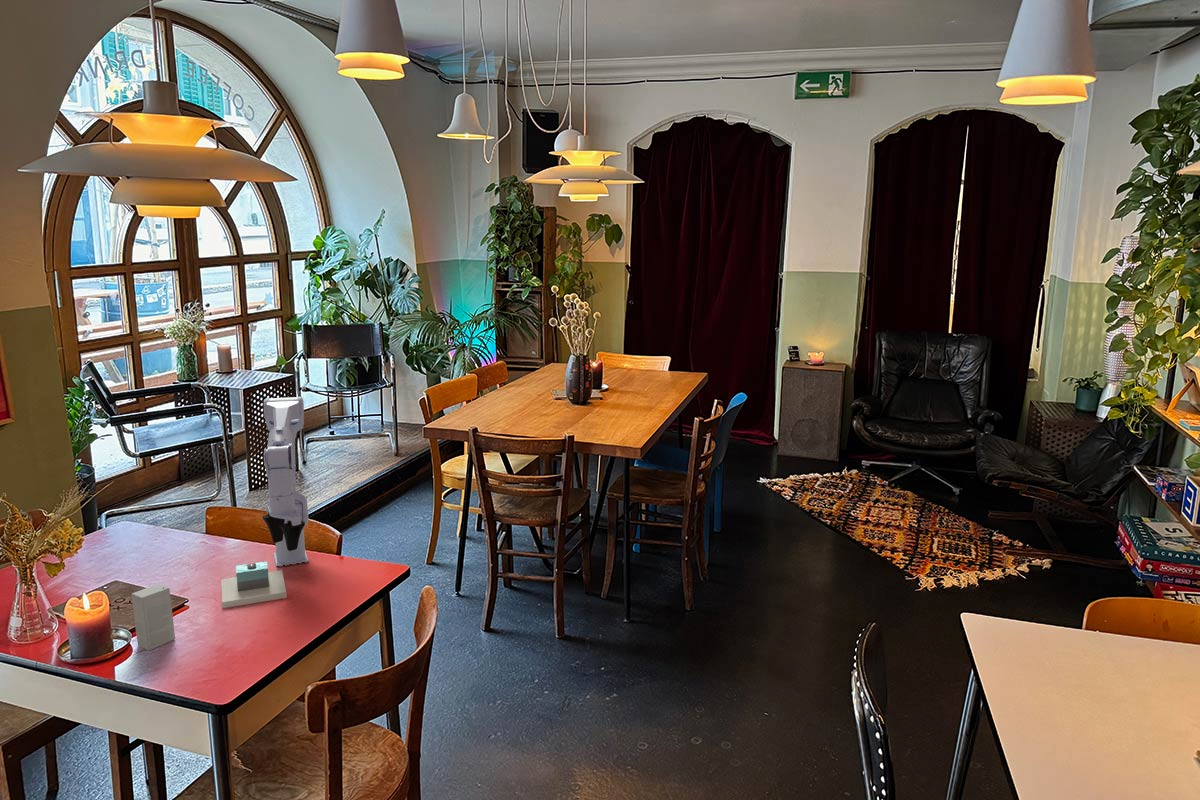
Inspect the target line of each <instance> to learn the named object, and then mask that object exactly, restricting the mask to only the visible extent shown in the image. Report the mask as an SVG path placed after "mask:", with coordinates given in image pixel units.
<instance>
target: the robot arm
mask: <svg viewBox="0 0 1200 800" xmlns="http://www.w3.org/2000/svg"><path fill="white" fill-rule="evenodd" d="M304 404H305V402H304V399H303V397H302V396H296V397H295V396H294V397H293V396H291V397H289V396H288V397H276V398H275V397H273V398H272V397H271V398H269V397H266V398H265V399H264V400H263V417H264V419H265V424H266V427H267V430H268V431H269V432H268V439H267V440H268V441H267V448H264V451H263V463H264V468H265V473H266V478H267V482H268V483H267V484H268V485H267V486H268V496H269V498H268V502H267V504H266V503H265V512H266V513H267V514H265V515H263V516H261V517H262V520H263V521H264V523H265V524H266V525H267V528H268V531H269V533H270V536H271V539H272V542H273V543H274V544H275V552H273V557H274V562H275V567H277V566H279V567H284V566H283V565H285V566H290V565H289V564H292V565H296V564H295V563H299V564H303V563H302V562H305V563H309V558H308V555H307V551H306V547H305V546H306V545H305V529H304V527H306V526H307V525H308V524H309V507H308V499H307V497H306V496H305V495H304V494H303V493H301V492H299V491H298V490H297V479H296V469H297V468H296V437H297V433H298V432H300V431H301V430H303V429H304V425H305V407H304V406H305V405H304Z"/></svg>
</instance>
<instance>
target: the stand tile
mask: <svg viewBox="0 0 1200 800" xmlns="http://www.w3.org/2000/svg"><path fill="white" fill-rule="evenodd" d="M268 576H269V587H265V588H259V589H252V590H246V591H239V592H238V588H237V576H235V577H229V578H222V579H221V580H220V581H221V584H220V585H221V605H222V609H226V608H232V607H239V606H244V605H245V606H246V605H252V604H256V603H264V602H268V601H269V602H270V601H275V600H281V598H282V599H287V598H288V596H287V589H286V584H285V579H284V574H283V570H282V569H281V570H274V571H268Z"/></svg>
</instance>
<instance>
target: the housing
mask: <svg viewBox="0 0 1200 800" xmlns="http://www.w3.org/2000/svg"><path fill="white" fill-rule="evenodd" d="M268 572H269V566H268V561H260V562H251V563H246V564H239V565H235V574H236V576H235V577H237V588H238V592H239V591H246V590H252V589H259V588H265V587H269V576H268Z"/></svg>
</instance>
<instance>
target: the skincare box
mask: <svg viewBox="0 0 1200 800" xmlns="http://www.w3.org/2000/svg"><path fill="white" fill-rule="evenodd" d="M130 595H131V603H132V609H133V618H134V626H135V633H136V640H137V641H136V642H137V646H138V647H139V648H142V649H144V650H146V651H148V652H149V651H152V650H154V649H157V648H158V647H160V646H162V645H164V644H167V643H169V642H171V641H173V640H175V639H176V634H175V626H174V624H175V623H174V617H173V616H174V615H173V607H172V599H171V590H170V587H169V586H165V585H163V584H160V583H156V584H153V585H151V586H148V587H145V588H143V589H140V590H138V591H135V592H132V593H131V594H130Z"/></svg>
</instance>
